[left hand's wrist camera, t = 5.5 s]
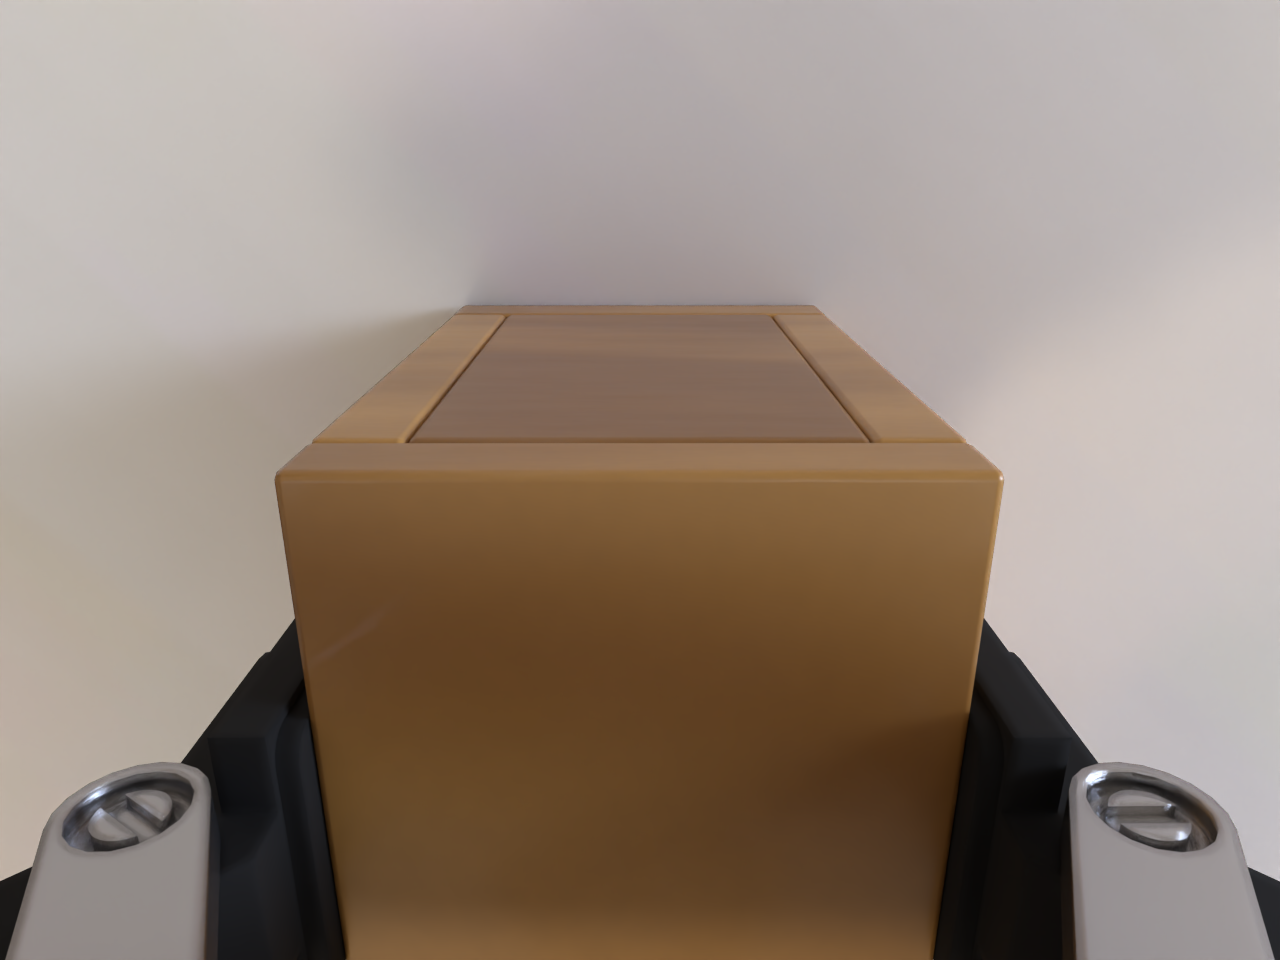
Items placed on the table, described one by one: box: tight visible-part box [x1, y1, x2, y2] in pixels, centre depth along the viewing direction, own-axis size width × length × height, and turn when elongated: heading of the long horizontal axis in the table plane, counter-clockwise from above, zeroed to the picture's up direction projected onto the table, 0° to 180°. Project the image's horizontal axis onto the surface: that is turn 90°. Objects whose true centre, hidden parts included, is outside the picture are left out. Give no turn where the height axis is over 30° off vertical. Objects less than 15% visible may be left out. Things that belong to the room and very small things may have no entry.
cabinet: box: [275, 306, 1004, 960], centre depth 15 cm, size 20×6×9 cm, turn 0°
